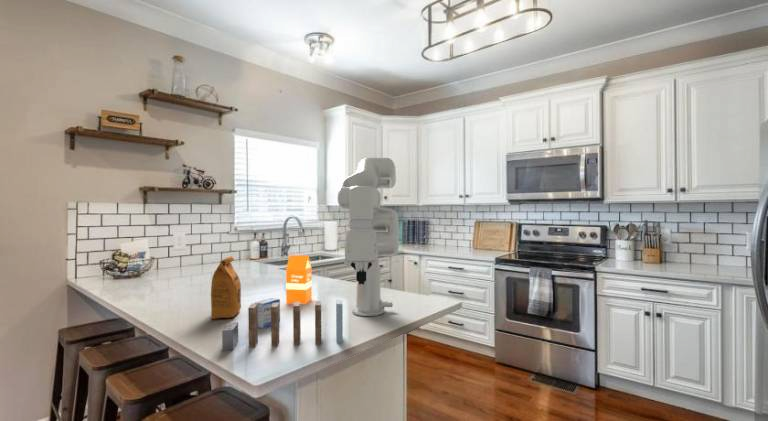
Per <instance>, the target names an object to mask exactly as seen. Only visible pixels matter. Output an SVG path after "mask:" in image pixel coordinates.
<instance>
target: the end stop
mask: <svg viewBox="0 0 768 421" xmlns="http://www.w3.org/2000/svg"><path fill="white" fill-rule="evenodd" d="M221 336H222V337H221V338H222V341H221V343H222V344H221V347H222V348H221V349H222V350H221V351H226V352H227V351H234V350H235V348H236V346H237V344H238V343H239V322H237V321H236V322H228V323H226V325H225V326H224V327H223V329H222V330H221Z"/></svg>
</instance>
